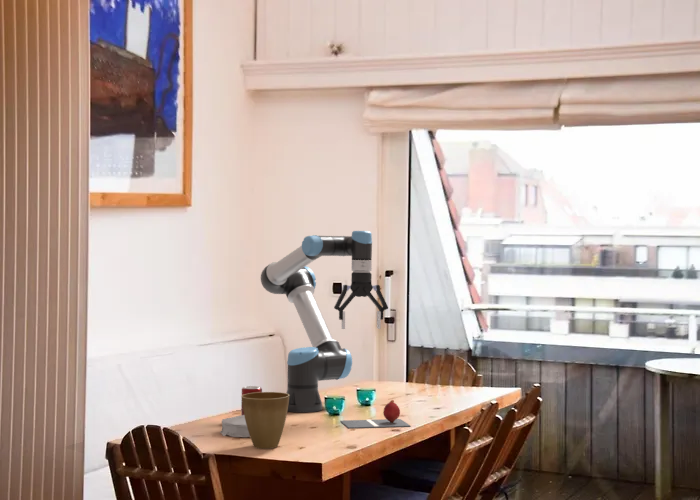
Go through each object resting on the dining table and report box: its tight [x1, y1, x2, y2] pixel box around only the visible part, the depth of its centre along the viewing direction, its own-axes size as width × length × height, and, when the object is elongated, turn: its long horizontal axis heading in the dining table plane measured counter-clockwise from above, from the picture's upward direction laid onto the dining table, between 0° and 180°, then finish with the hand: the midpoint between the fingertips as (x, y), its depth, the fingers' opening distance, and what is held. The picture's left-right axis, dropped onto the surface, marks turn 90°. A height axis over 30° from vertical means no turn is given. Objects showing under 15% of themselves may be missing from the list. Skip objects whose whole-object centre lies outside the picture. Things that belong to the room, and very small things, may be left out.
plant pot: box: [240, 391, 289, 450], centre depth 310 cm, size 15×15×16 cm
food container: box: [219, 414, 251, 438], centre depth 334 cm, size 20×20×7 cm
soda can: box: [240, 385, 263, 416], centre depth 356 cm, size 7×7×12 cm
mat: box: [340, 418, 412, 430], centre depth 352 cm, size 22×14×1 cm, turn 102°
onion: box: [382, 399, 401, 423], centre depth 353 cm, size 6×6×8 cm
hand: (361, 328), depth 375 cm, fingers open, 13 cm apart
